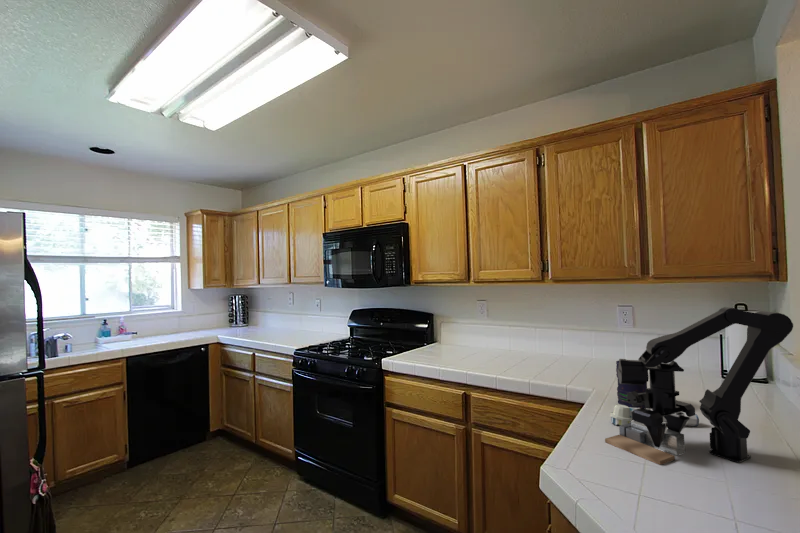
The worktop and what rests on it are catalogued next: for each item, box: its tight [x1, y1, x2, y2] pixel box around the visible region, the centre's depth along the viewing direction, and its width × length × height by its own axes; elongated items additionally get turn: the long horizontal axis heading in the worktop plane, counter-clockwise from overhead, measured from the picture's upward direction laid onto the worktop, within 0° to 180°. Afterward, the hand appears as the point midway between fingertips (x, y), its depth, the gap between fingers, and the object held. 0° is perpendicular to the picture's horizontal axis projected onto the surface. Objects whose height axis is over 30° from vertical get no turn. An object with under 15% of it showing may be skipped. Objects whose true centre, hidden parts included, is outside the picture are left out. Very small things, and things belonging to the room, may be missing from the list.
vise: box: [618, 423, 646, 445], centre depth 110 cm, size 6×9×4 cm
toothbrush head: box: [609, 403, 700, 427], centre depth 120 cm, size 5×7×25 cm
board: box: [604, 434, 676, 466], centre depth 103 cm, size 15×6×1 cm, turn 25°
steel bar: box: [631, 420, 686, 457], centre depth 105 cm, size 12×4×5 cm, turn 26°
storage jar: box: [615, 360, 648, 409], centre depth 140 cm, size 10×10×15 cm
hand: (665, 444), depth 104 cm, fingers open, 6 cm apart
